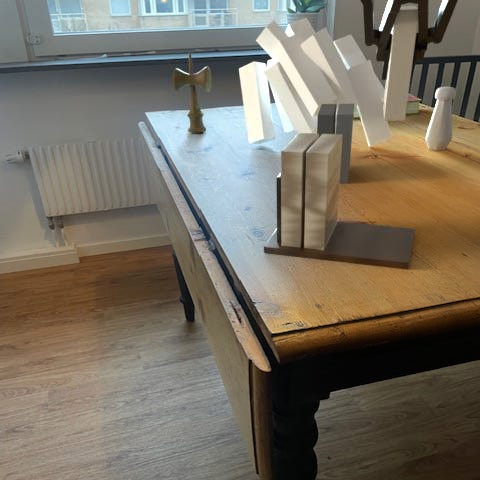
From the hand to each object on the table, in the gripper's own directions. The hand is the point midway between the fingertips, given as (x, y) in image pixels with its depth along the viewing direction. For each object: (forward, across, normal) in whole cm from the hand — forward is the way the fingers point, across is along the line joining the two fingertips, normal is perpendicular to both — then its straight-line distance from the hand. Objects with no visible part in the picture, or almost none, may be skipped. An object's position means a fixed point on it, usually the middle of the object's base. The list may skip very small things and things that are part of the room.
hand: (396, 71), depth 78 cm
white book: (+1, 0, -6) cm, 7 cm away
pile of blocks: (+45, -17, +15) cm, 51 cm away
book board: (+3, -6, -28) cm, 28 cm away
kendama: (+51, -50, +21) cm, 74 cm away
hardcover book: (+68, 0, +38) cm, 78 cm away
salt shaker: (+41, +13, +11) cm, 44 cm away
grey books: (+26, -10, -4) cm, 28 cm away
